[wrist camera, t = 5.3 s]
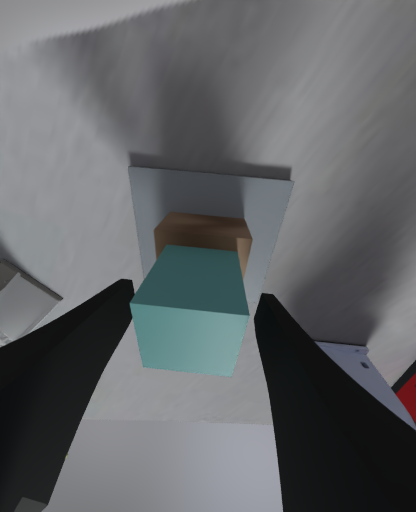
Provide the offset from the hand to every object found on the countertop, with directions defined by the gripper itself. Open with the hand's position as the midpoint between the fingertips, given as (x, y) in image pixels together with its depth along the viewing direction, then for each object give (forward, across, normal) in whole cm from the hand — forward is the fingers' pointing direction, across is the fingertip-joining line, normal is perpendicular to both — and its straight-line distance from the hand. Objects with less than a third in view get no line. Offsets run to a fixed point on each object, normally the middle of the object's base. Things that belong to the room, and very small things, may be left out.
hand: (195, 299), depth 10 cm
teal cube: (+2, 0, 0) cm, 2 cm away
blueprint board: (+7, 0, 0) cm, 7 cm away
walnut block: (+6, 0, 0) cm, 6 cm away
